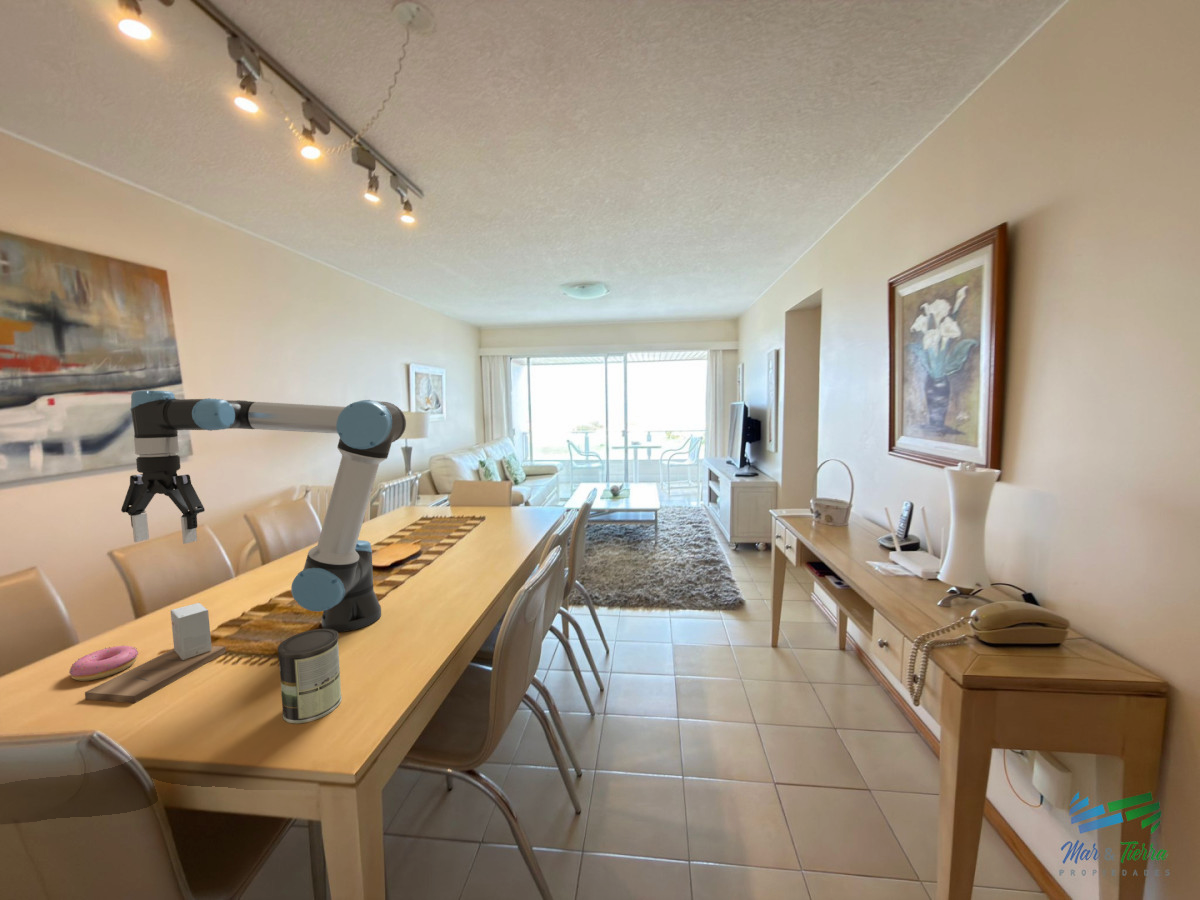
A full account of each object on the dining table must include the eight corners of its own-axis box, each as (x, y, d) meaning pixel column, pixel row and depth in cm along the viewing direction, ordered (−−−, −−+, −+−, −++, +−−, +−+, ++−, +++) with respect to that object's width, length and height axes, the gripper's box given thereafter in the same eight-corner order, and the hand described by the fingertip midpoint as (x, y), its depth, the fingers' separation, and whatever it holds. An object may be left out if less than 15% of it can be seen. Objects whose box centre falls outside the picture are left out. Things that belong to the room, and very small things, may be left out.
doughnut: (109, 657, 111) (108, 641, 111) (152, 658, 111) (150, 641, 111) (54, 684, 100) (52, 666, 100) (102, 684, 100) (100, 666, 100)
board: (225, 652, 113) (225, 646, 113) (134, 703, 93) (134, 696, 93) (183, 649, 114) (183, 643, 114) (85, 699, 95) (84, 692, 95)
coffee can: (270, 726, 86) (265, 655, 85) (301, 692, 96) (296, 629, 95) (326, 722, 87) (322, 652, 86) (351, 690, 97) (347, 627, 96)
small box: (212, 651, 111) (208, 609, 110) (181, 661, 106) (178, 618, 105) (203, 641, 115) (200, 601, 115) (173, 650, 111) (170, 609, 110)
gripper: (219, 453, 111) (225, 538, 112) (131, 453, 114) (139, 535, 115) (187, 456, 103) (195, 547, 105) (94, 456, 106) (103, 544, 108)
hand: (165, 541), depth 110 cm, fingers open, 13 cm apart
